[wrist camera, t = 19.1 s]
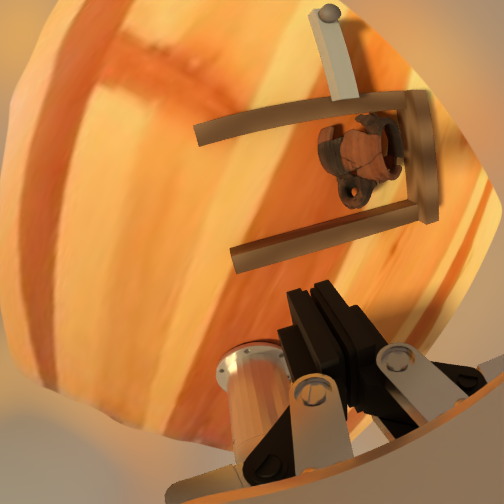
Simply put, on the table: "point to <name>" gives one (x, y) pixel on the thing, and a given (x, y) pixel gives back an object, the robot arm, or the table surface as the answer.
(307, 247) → the frame
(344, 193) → the pottery mug
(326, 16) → the gray rectangular bar
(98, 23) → the table surface
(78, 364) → the table surface
